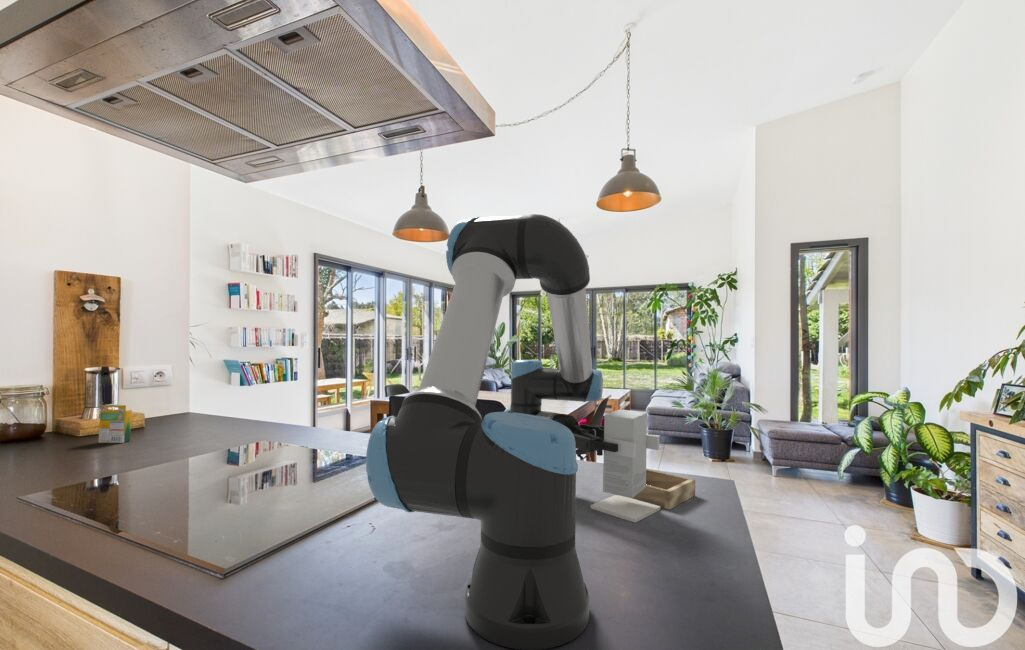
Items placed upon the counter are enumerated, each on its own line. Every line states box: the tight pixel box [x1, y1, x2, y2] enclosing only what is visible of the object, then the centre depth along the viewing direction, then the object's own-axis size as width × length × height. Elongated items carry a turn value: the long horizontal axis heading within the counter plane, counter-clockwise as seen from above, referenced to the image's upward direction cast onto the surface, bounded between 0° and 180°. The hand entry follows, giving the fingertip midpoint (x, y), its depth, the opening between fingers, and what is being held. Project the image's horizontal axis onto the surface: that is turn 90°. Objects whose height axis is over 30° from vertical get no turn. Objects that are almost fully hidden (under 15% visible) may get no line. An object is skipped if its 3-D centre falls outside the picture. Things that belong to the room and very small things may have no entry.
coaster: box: [589, 494, 662, 523], centre depth 91 cm, size 10×10×1 cm
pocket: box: [632, 468, 696, 510], centre depth 100 cm, size 12×12×4 cm
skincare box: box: [602, 409, 648, 498], centre depth 92 cm, size 8×7×16 cm
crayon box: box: [97, 404, 133, 444], centre depth 142 cm, size 7×3×12 cm, turn 97°
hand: (646, 446), depth 89 cm, fingers closed on skincare box, 9 cm apart
